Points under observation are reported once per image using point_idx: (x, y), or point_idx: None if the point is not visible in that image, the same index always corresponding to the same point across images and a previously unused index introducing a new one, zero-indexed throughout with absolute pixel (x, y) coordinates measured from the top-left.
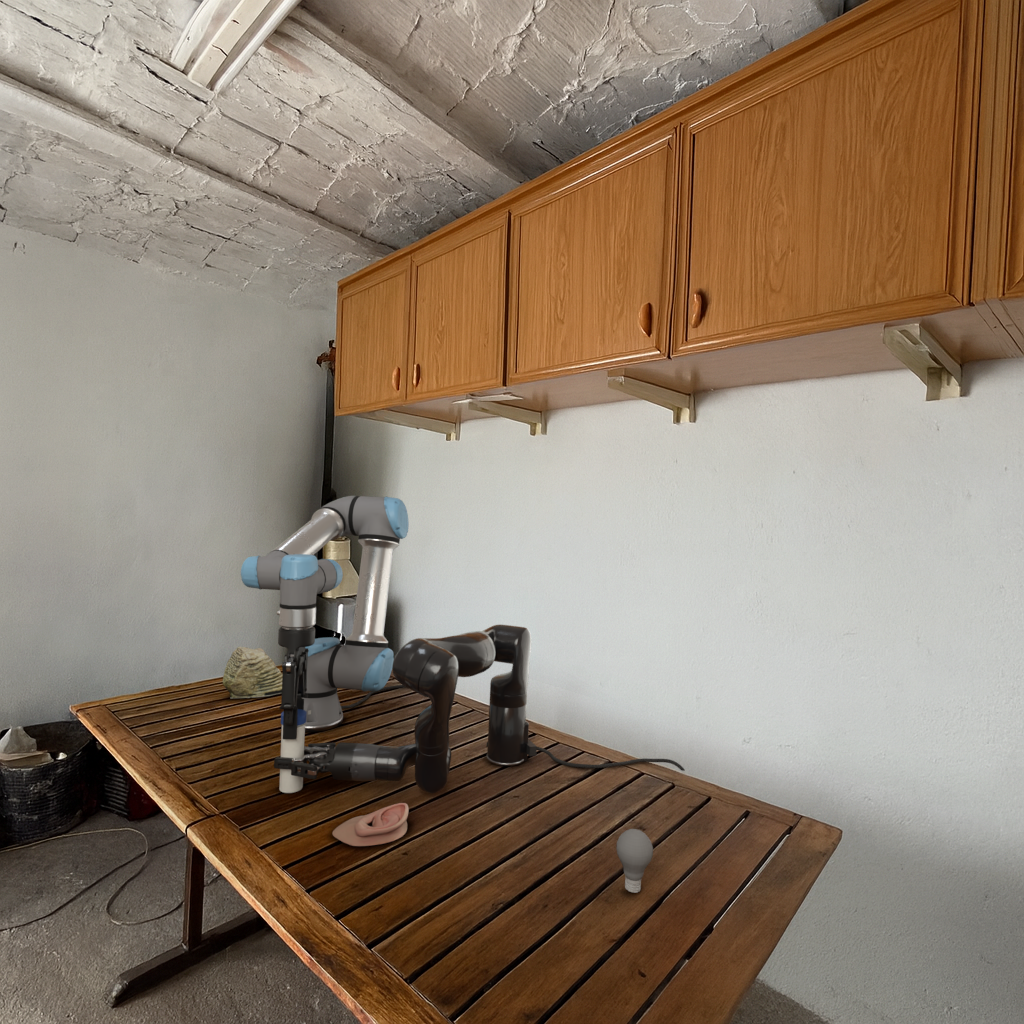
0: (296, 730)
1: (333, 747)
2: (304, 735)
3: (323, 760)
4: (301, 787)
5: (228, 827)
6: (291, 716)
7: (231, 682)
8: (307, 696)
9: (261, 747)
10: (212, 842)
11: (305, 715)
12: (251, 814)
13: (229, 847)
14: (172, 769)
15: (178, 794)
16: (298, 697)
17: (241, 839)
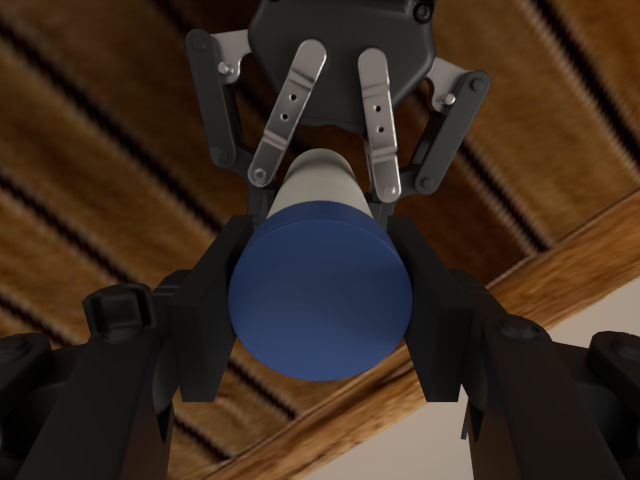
0: (408, 230)
1: (214, 41)
2: (315, 185)
3: (407, 54)
4: (329, 150)
5: (528, 279)
6: (498, 306)
7: None
8: (121, 289)
9: (52, 332)
10: (591, 290)
11: (336, 217)
12: (470, 246)
13: (626, 249)
14: (225, 466)
15: (350, 418)
16: (171, 360)
17: (596, 234)
